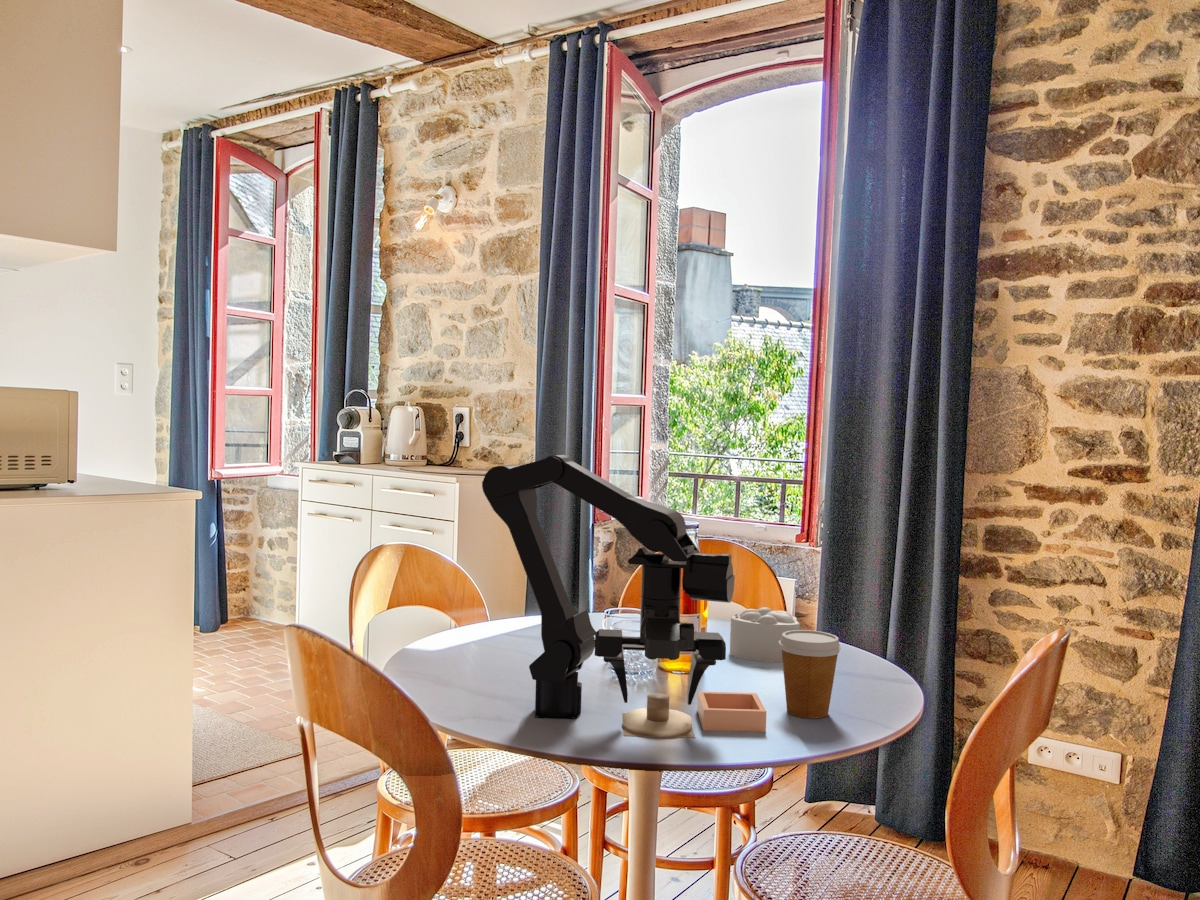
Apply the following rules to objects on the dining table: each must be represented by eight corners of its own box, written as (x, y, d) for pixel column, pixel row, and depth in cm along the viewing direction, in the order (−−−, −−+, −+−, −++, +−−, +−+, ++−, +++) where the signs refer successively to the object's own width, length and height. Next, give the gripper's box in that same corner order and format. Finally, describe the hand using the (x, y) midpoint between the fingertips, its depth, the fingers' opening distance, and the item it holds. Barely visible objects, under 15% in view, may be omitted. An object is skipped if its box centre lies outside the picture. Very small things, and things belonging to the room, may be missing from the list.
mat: (623, 739, 130) (623, 735, 130) (622, 717, 140) (622, 713, 140) (695, 741, 130) (695, 737, 130) (688, 719, 140) (688, 715, 140)
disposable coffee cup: (794, 699, 151) (796, 626, 151) (849, 712, 145) (851, 636, 145) (765, 712, 144) (767, 635, 143) (821, 726, 138) (824, 646, 137)
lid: (623, 735, 130) (624, 705, 130) (622, 713, 140) (623, 685, 140) (695, 737, 130) (696, 708, 129) (688, 715, 140) (689, 687, 139)
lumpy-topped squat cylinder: (800, 663, 174) (801, 618, 174) (730, 660, 176) (732, 614, 175) (794, 650, 185) (795, 607, 184) (728, 647, 186) (730, 604, 186)
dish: (703, 733, 133) (703, 709, 133) (696, 714, 142) (697, 691, 142) (765, 735, 133) (766, 711, 133) (755, 715, 142) (756, 693, 142)
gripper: (595, 605, 126) (592, 719, 127) (732, 609, 126) (729, 723, 126) (596, 590, 137) (593, 694, 138) (722, 594, 137) (718, 698, 138)
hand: (657, 703), depth 135 cm, fingers open, 9 cm apart
